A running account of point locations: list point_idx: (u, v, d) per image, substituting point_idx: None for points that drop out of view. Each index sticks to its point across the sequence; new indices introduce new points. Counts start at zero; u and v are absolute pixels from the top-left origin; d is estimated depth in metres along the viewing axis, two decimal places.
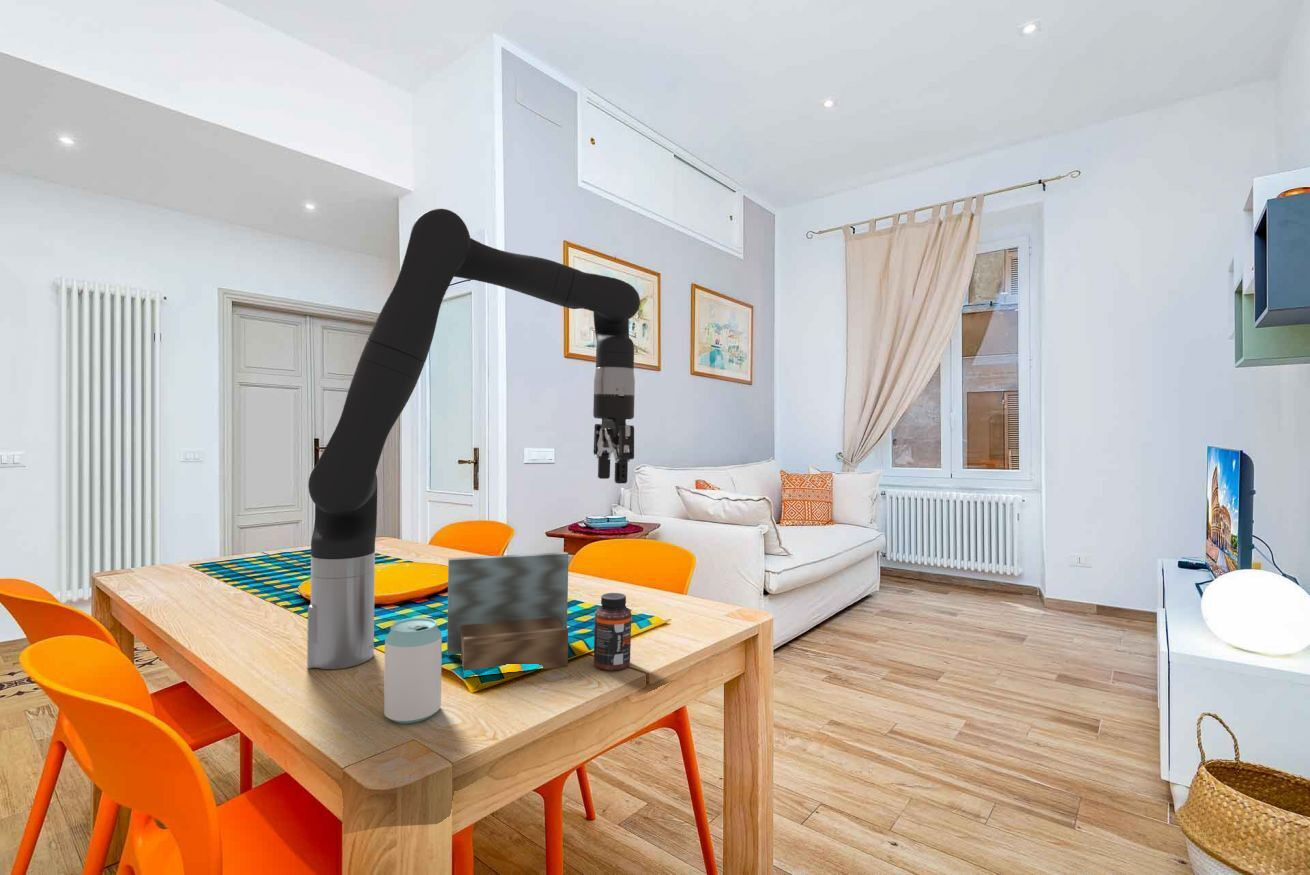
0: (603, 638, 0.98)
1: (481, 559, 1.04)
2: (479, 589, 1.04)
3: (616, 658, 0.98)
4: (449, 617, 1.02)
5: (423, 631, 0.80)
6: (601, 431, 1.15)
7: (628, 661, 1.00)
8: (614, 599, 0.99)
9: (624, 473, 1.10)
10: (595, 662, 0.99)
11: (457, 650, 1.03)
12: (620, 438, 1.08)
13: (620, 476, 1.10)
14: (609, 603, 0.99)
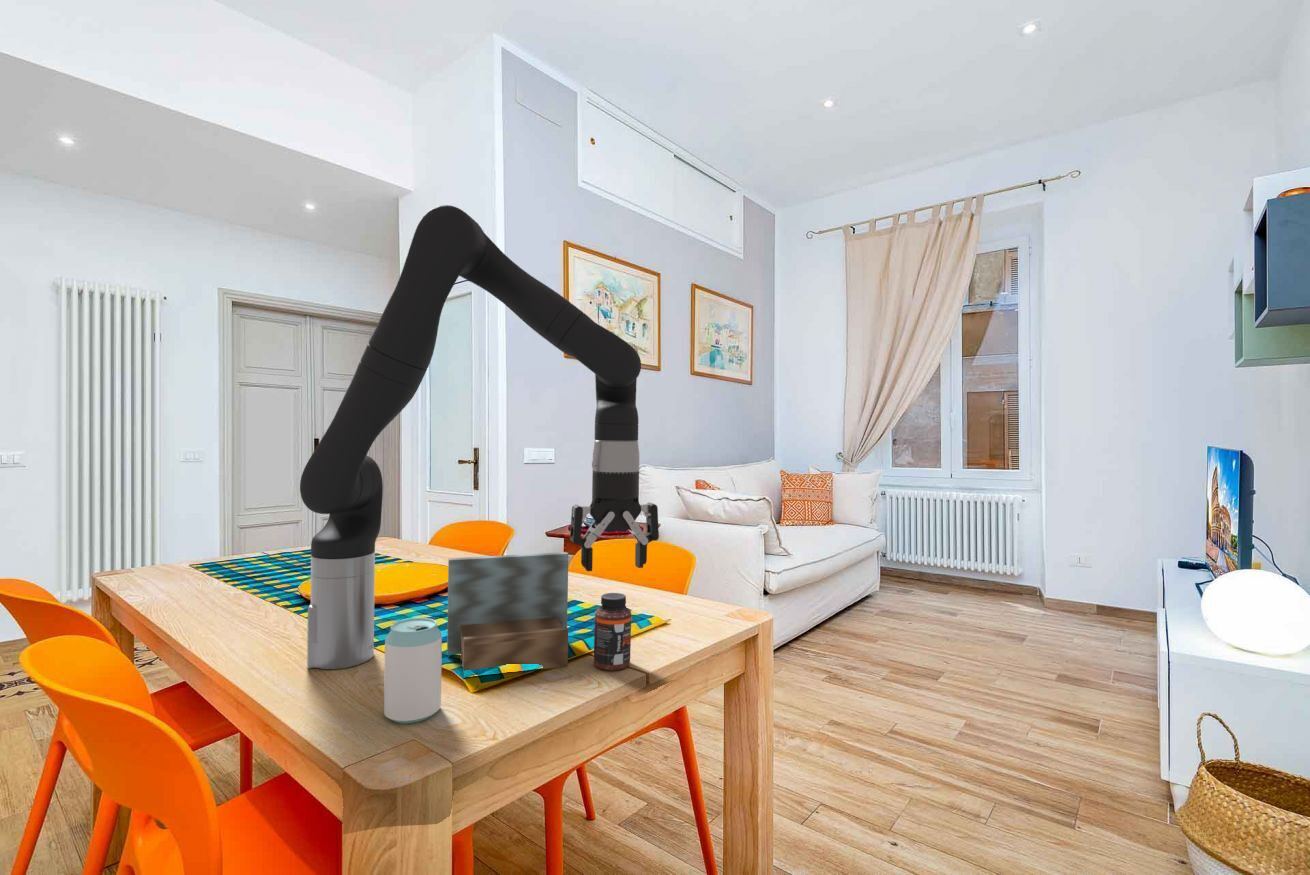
0: (603, 638, 0.98)
1: (481, 559, 1.04)
2: (479, 589, 1.04)
3: (616, 658, 0.98)
4: (449, 617, 1.02)
5: (423, 631, 0.80)
6: (612, 514, 0.98)
7: (628, 661, 1.00)
8: (614, 599, 0.99)
9: None
10: (595, 662, 0.99)
11: (457, 650, 1.03)
12: (655, 518, 1.01)
13: (646, 559, 1.02)
14: (609, 603, 0.99)
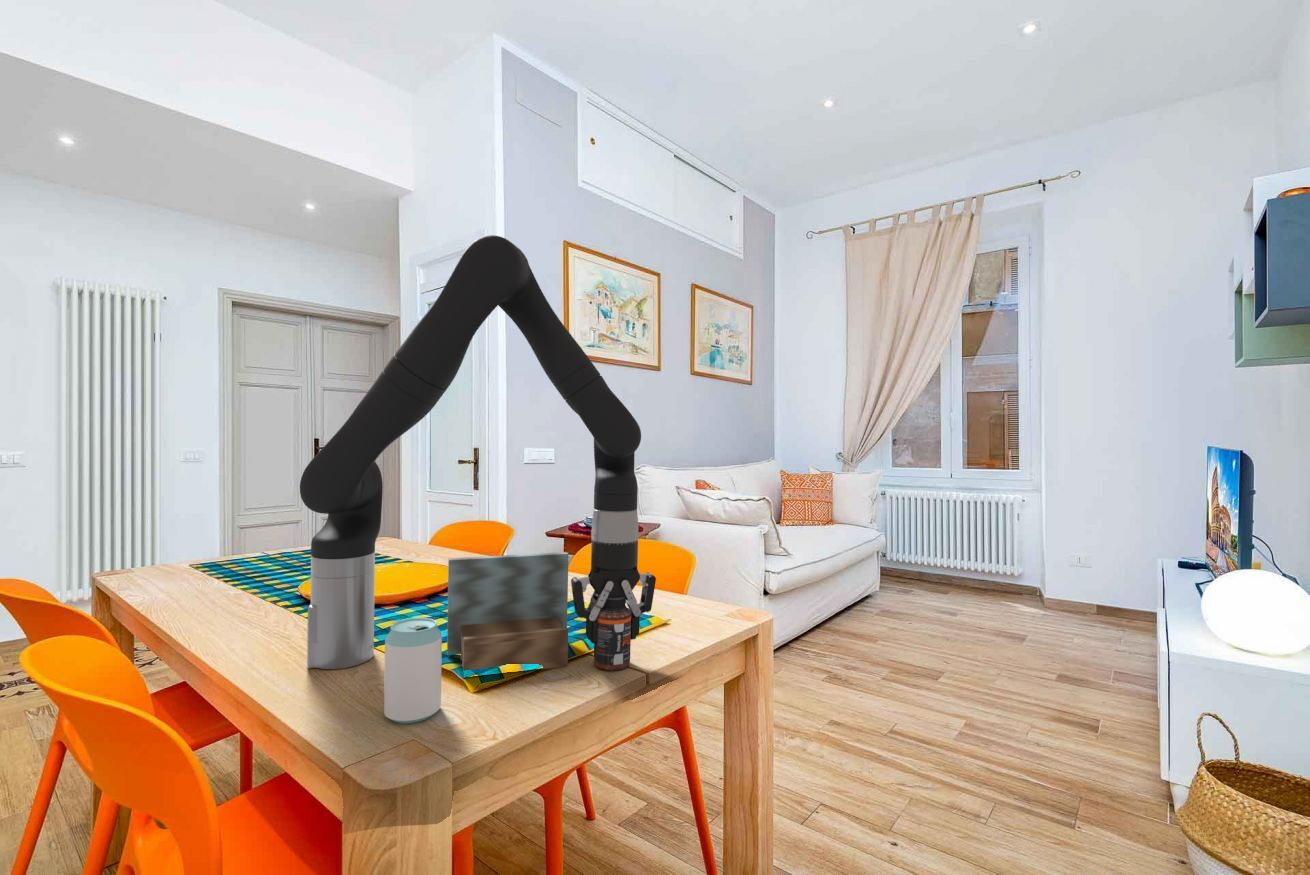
0: (603, 638, 0.98)
1: (481, 559, 1.04)
2: (479, 589, 1.04)
3: (616, 658, 0.98)
4: (449, 617, 1.02)
5: (423, 631, 0.80)
6: (610, 583, 0.98)
7: (628, 661, 1.00)
8: (614, 599, 0.99)
9: None
10: (595, 662, 0.99)
11: (457, 650, 1.03)
12: (651, 589, 1.01)
13: None
14: (609, 602, 0.99)
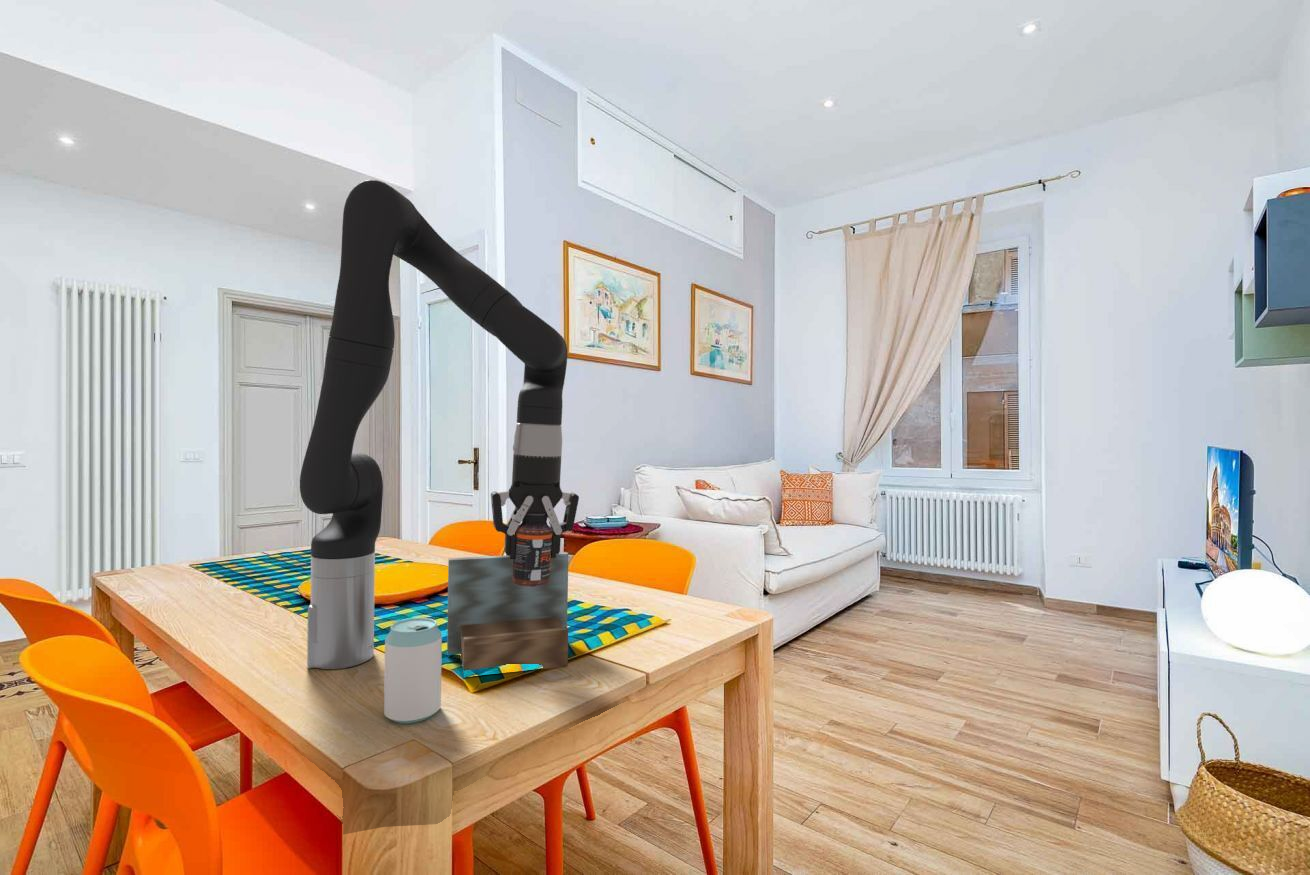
0: (521, 553, 0.96)
1: (481, 559, 1.04)
2: (479, 589, 1.04)
3: (534, 574, 0.96)
4: (449, 617, 1.02)
5: (423, 631, 0.80)
6: (530, 498, 0.97)
7: (547, 578, 0.98)
8: (534, 514, 0.97)
9: None
10: (513, 578, 0.98)
11: (457, 650, 1.03)
12: (574, 508, 1.00)
13: (559, 549, 1.00)
14: (528, 518, 0.97)
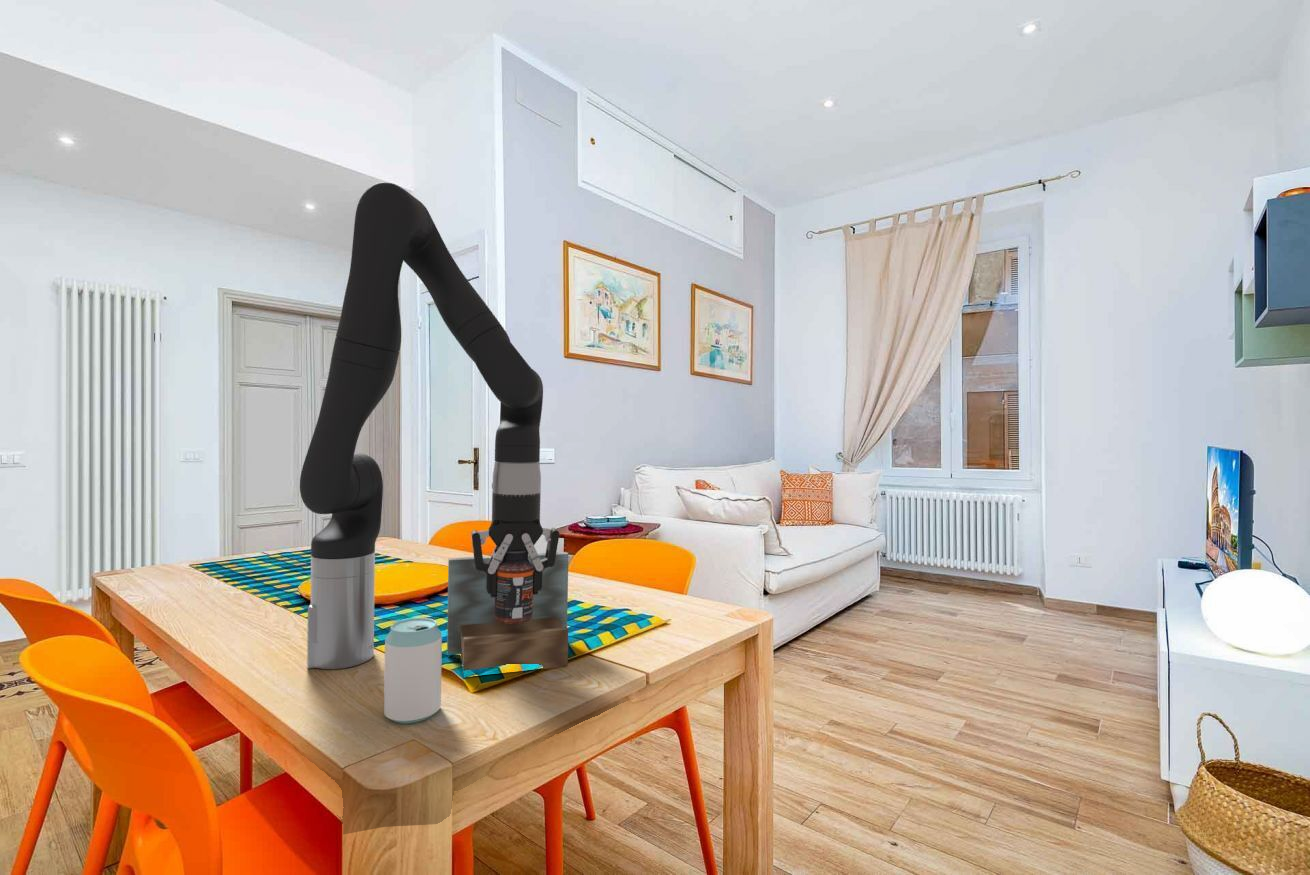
0: (502, 591, 0.97)
1: None
2: (479, 589, 1.04)
3: (515, 612, 0.97)
4: (449, 617, 1.02)
5: (423, 631, 0.80)
6: (510, 536, 0.97)
7: (529, 616, 0.98)
8: (514, 552, 0.97)
9: None
10: (495, 616, 0.98)
11: (457, 650, 1.03)
12: (554, 544, 1.00)
13: (541, 585, 1.00)
14: (509, 556, 0.97)
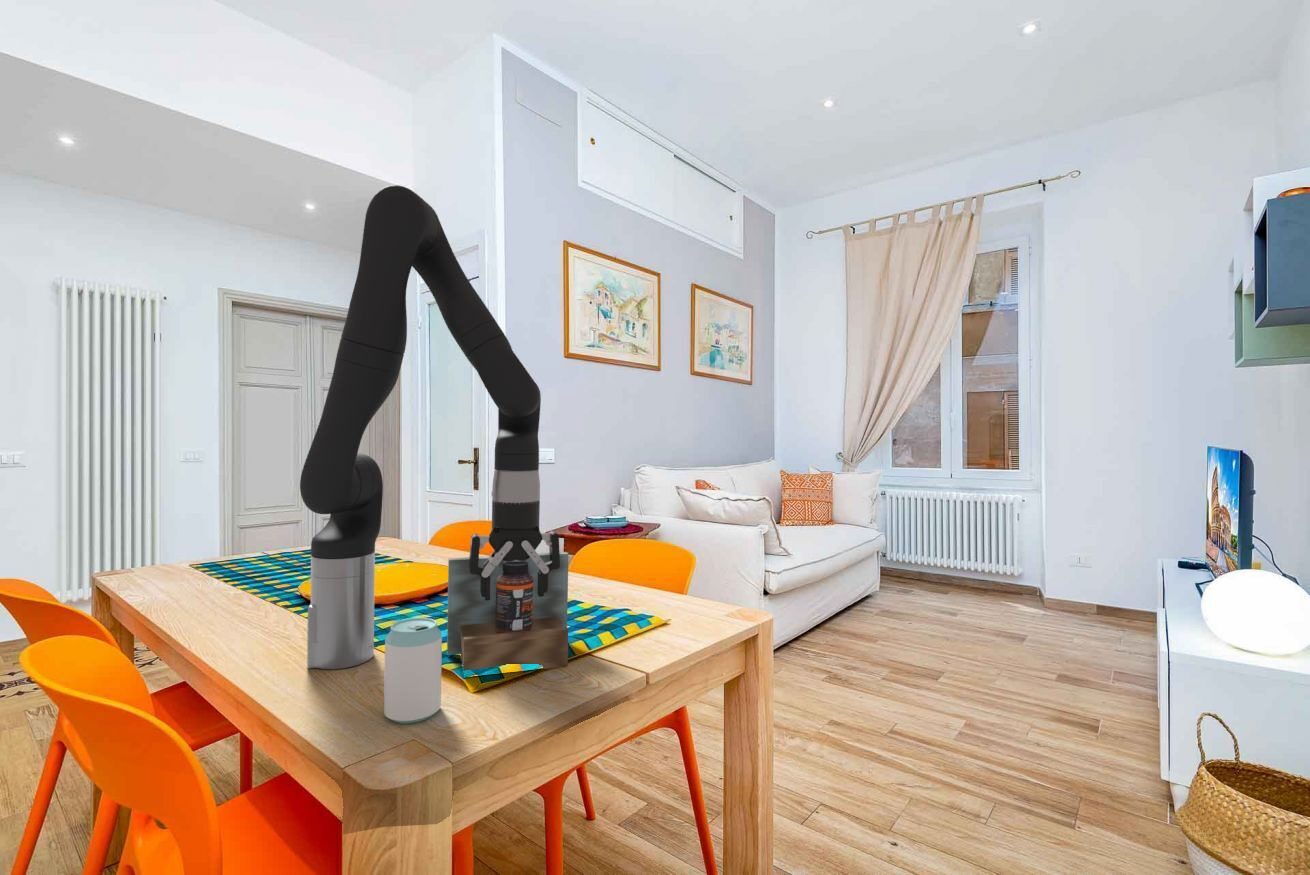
0: (502, 603, 0.98)
1: (481, 559, 1.04)
2: (479, 589, 1.04)
3: (515, 624, 0.98)
4: (449, 617, 1.02)
5: (423, 631, 0.80)
6: (510, 544, 0.98)
7: (529, 627, 1.00)
8: (514, 565, 0.99)
9: None
10: (495, 628, 0.99)
11: (457, 650, 1.03)
12: (556, 547, 1.02)
13: (547, 587, 1.02)
14: (509, 568, 0.99)
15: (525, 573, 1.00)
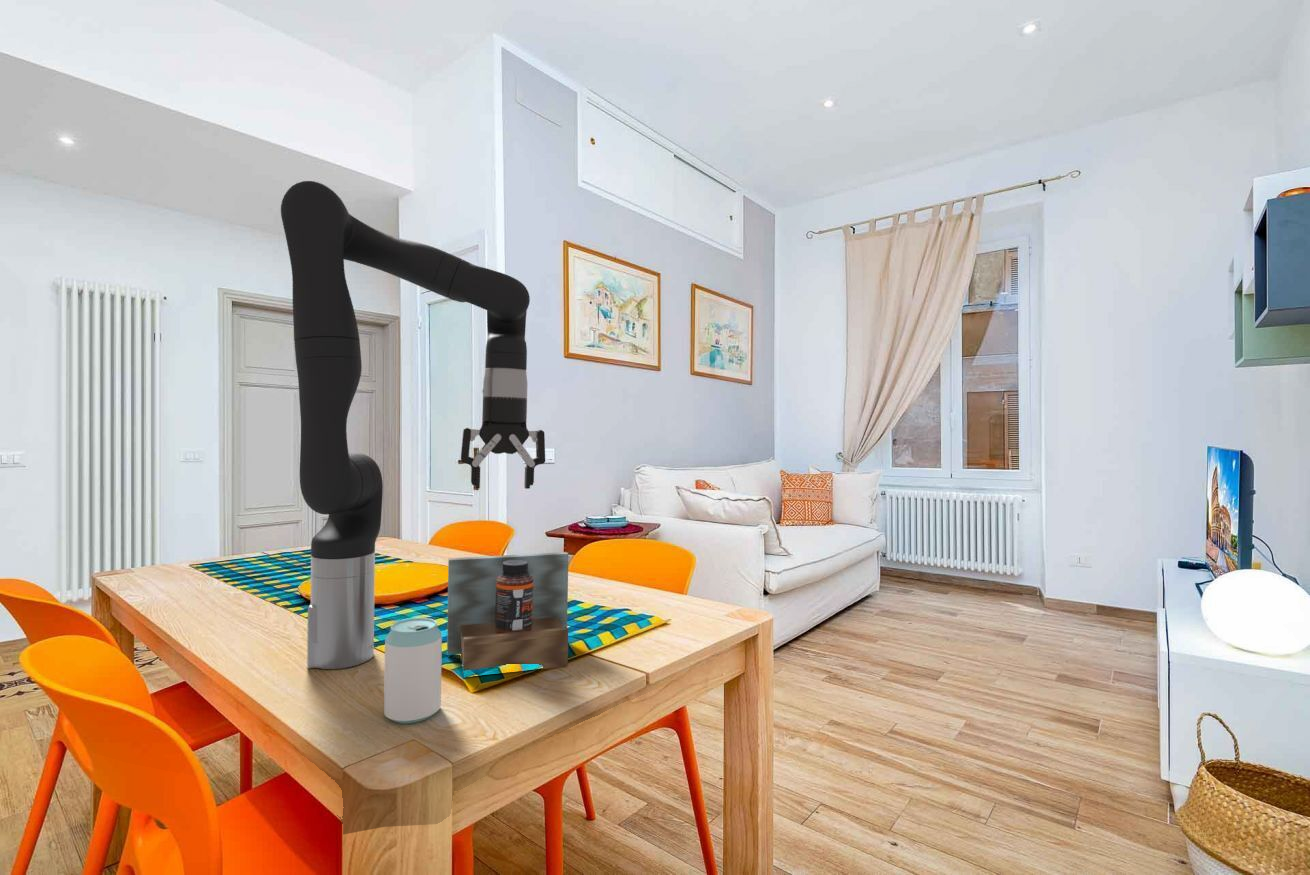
0: (502, 603, 0.98)
1: (481, 559, 1.04)
2: (479, 589, 1.04)
3: (515, 624, 0.98)
4: (449, 617, 1.02)
5: (423, 631, 0.80)
6: (498, 436, 1.06)
7: (529, 627, 1.00)
8: (514, 565, 0.99)
9: None
10: (495, 628, 0.99)
11: (457, 650, 1.03)
12: (542, 443, 1.10)
13: (533, 481, 1.10)
14: (509, 568, 0.99)
15: (525, 573, 1.00)
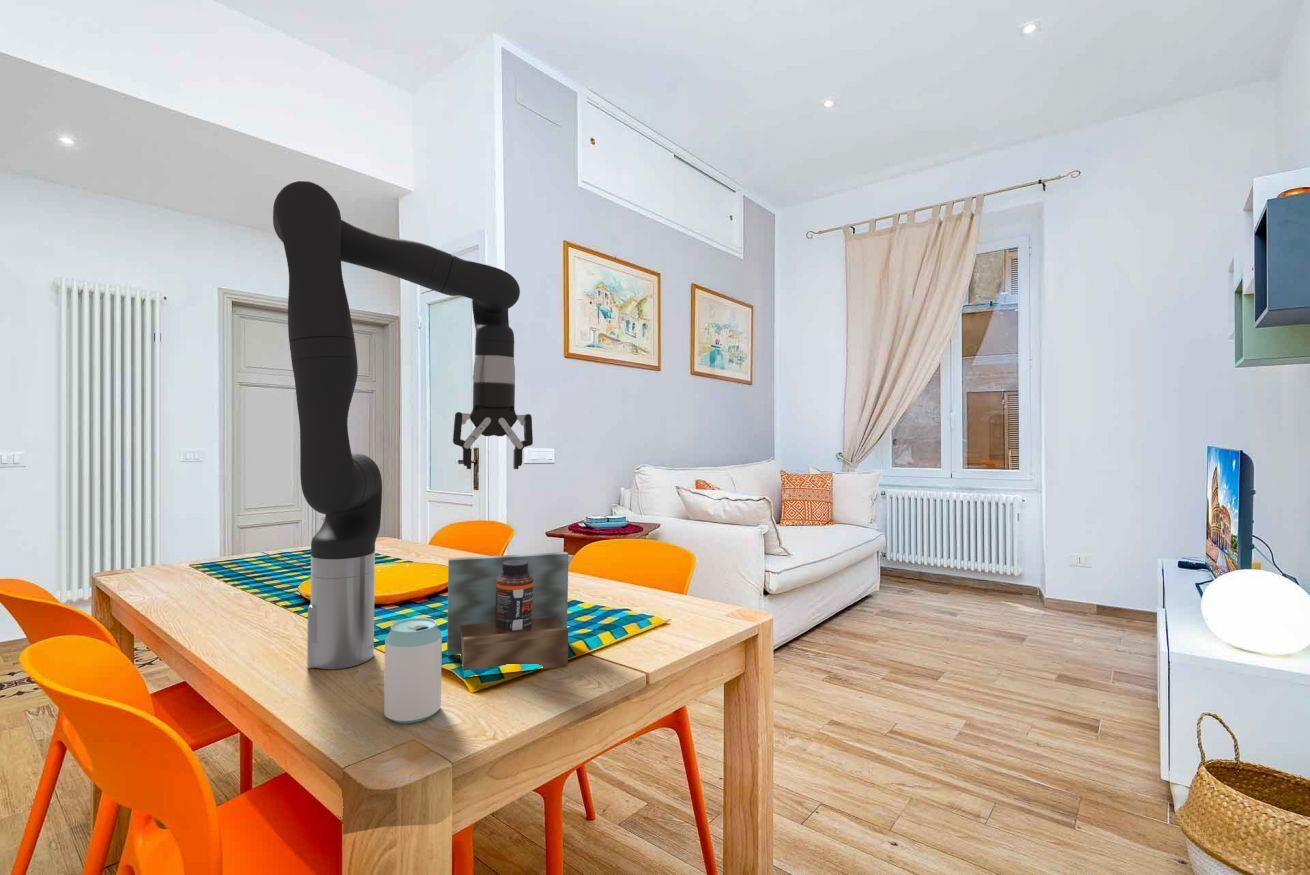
0: (502, 603, 0.98)
1: (481, 559, 1.04)
2: (479, 589, 1.04)
3: (515, 624, 0.98)
4: (449, 617, 1.02)
5: (423, 631, 0.80)
6: (488, 420, 1.13)
7: (529, 627, 1.00)
8: (514, 565, 0.99)
9: None
10: (495, 628, 0.99)
11: (457, 650, 1.03)
12: (529, 426, 1.16)
13: None
14: (509, 568, 0.99)
15: (525, 573, 1.00)
